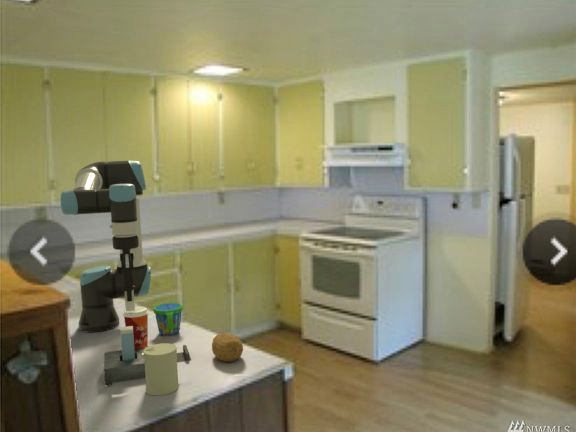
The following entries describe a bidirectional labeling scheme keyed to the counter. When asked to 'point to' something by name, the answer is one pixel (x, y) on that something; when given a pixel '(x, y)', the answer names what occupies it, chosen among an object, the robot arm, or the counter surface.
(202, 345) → the counter surface
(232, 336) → the potato
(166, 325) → the snack cup
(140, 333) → the coffee cup
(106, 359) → the port
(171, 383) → the can
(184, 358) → the dark grey bridge bracket
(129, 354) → the plug
